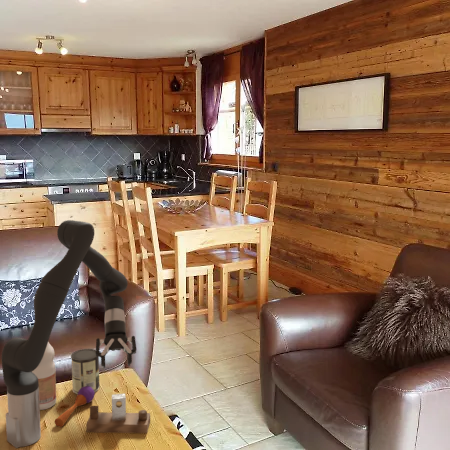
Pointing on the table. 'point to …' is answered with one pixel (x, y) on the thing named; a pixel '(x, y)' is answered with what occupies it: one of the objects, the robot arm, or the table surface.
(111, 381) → the table surface
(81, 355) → the coffee can
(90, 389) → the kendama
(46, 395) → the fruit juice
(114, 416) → the lever cap
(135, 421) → the plane body
